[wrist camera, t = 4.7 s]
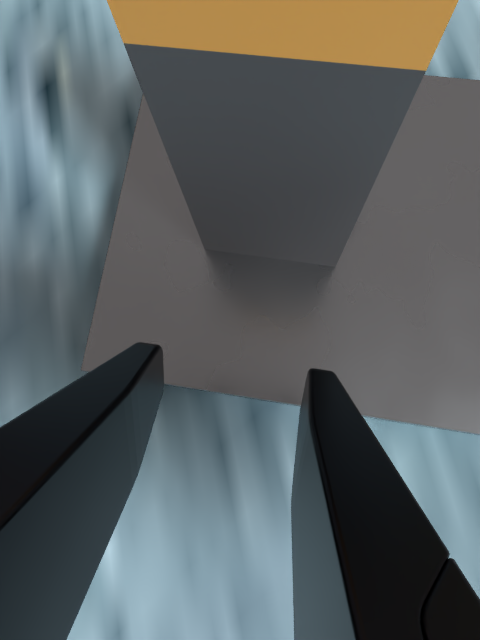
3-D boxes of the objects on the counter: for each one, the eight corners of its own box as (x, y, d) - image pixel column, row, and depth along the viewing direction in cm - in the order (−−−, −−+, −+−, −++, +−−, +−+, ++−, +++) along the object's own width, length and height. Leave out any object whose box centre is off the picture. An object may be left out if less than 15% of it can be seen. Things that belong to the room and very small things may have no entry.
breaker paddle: (335, 266, 14) (484, -56, 4) (204, 249, 14) (73, -82, 5) (341, 217, 14) (494, -187, 5) (213, 201, 14) (107, -204, 5)
